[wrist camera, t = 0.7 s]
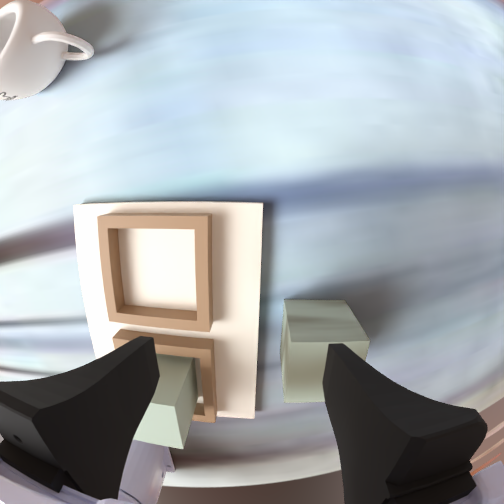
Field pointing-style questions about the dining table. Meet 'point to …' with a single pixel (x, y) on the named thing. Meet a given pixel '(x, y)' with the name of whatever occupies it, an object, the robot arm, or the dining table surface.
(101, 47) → the dining table surface
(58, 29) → the mug
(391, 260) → the dining table surface
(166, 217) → the puzzle board
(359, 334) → the green block
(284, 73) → the dining table surface
